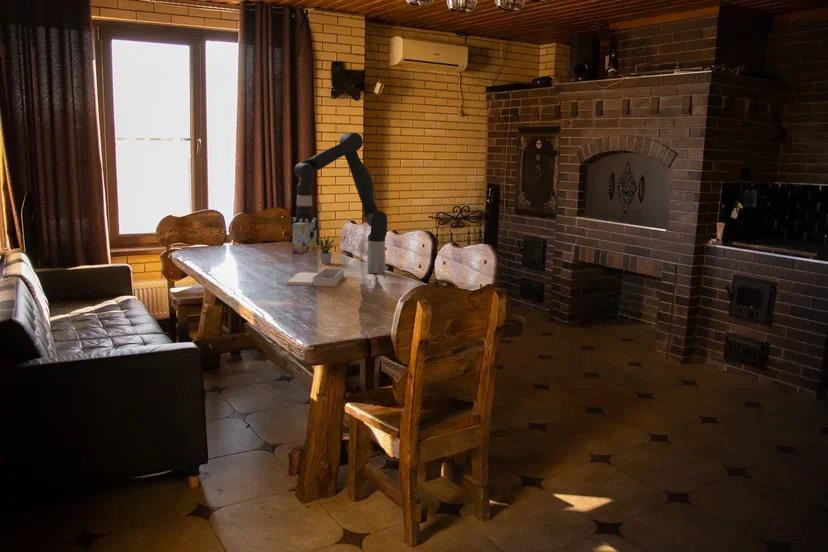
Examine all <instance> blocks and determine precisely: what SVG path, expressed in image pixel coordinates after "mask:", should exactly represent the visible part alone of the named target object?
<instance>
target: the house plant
mask: <svg viewBox="0 0 828 552" xmlns="http://www.w3.org/2000/svg"><path fill="white" fill-rule="evenodd" d="M336 240H338V237H335V238H334V239H332V240H330V236H329V235H327V239H326V236H323V239H320V237H317V243H319V245H320V246H318V245H317V248H319V249H320V250H321V251H320V252H319V259H320V264H321V265H330V264H331V261H332V257H333V256H332V255H333V253H332V252H331V249H334V248H335V249H336V246H334V244H333V243H335V241H336ZM331 244H332V245H331Z"/></svg>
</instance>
